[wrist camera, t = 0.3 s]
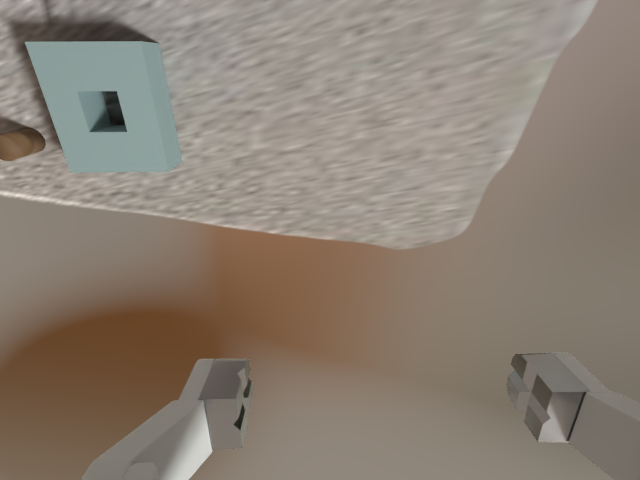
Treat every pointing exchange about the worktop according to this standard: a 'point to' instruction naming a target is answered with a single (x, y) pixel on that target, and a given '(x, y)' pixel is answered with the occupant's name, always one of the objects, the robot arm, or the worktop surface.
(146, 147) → the hole block
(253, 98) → the worktop surface
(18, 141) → the short dowel
